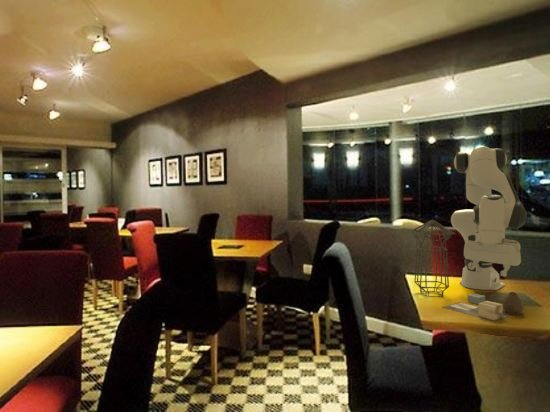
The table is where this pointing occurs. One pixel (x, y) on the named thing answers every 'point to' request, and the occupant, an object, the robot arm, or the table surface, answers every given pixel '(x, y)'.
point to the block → (490, 310)
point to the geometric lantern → (442, 228)
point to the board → (470, 310)
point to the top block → (476, 298)
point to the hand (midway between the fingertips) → (490, 274)
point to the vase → (513, 304)
